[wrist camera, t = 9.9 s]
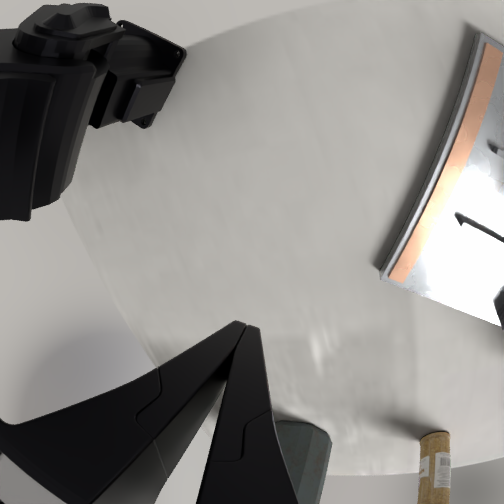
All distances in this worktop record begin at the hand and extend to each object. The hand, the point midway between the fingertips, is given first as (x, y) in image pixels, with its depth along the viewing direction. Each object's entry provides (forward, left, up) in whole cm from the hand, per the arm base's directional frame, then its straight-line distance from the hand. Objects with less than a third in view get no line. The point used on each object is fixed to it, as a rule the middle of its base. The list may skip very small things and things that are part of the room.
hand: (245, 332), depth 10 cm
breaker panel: (+13, +10, -13) cm, 21 cm away
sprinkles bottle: (+35, -14, -13) cm, 40 cm away
